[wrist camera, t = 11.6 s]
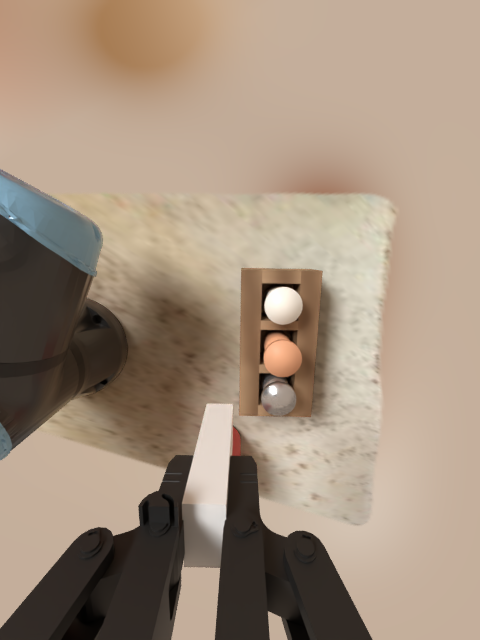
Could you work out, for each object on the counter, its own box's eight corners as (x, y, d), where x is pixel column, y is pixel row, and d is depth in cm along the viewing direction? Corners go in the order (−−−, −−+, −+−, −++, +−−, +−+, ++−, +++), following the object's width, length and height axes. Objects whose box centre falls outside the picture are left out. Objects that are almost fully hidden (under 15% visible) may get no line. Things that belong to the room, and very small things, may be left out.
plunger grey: (258, 390, 42) (260, 415, 35) (258, 363, 41) (262, 383, 34) (287, 391, 42) (295, 416, 35) (288, 363, 41) (297, 384, 34)
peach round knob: (259, 356, 39) (263, 376, 32) (260, 326, 38) (264, 341, 31) (290, 357, 39) (300, 377, 32) (292, 327, 38) (303, 341, 31)
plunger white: (260, 313, 39) (264, 324, 32) (261, 282, 38) (265, 287, 32) (291, 313, 39) (301, 324, 32) (293, 282, 38) (303, 287, 32)
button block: (239, 394, 44) (239, 415, 38) (241, 268, 40) (241, 269, 34) (301, 395, 44) (311, 416, 38) (310, 269, 40) (322, 271, 34)
